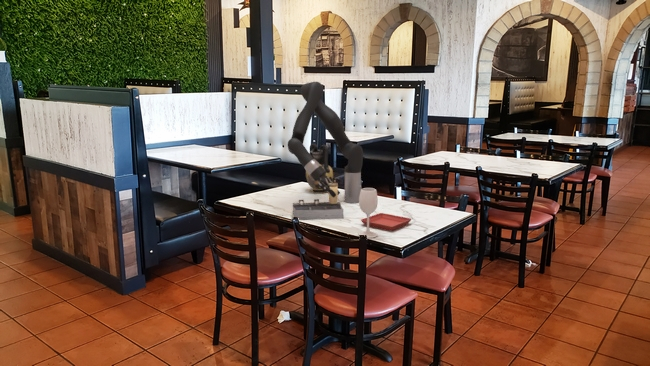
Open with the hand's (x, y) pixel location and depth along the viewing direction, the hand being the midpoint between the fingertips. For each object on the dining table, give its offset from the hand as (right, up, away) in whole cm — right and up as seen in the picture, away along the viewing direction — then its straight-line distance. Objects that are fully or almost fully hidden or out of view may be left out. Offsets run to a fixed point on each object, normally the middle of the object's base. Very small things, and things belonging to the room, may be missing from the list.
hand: (336, 195), depth 253 cm
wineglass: (+13, -17, -28) cm, 36 cm away
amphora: (-9, +1, +60) cm, 60 cm away
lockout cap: (-2, -4, +2) cm, 5 cm away
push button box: (-10, -11, +4) cm, 15 cm away
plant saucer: (+23, -15, -12) cm, 30 cm away
